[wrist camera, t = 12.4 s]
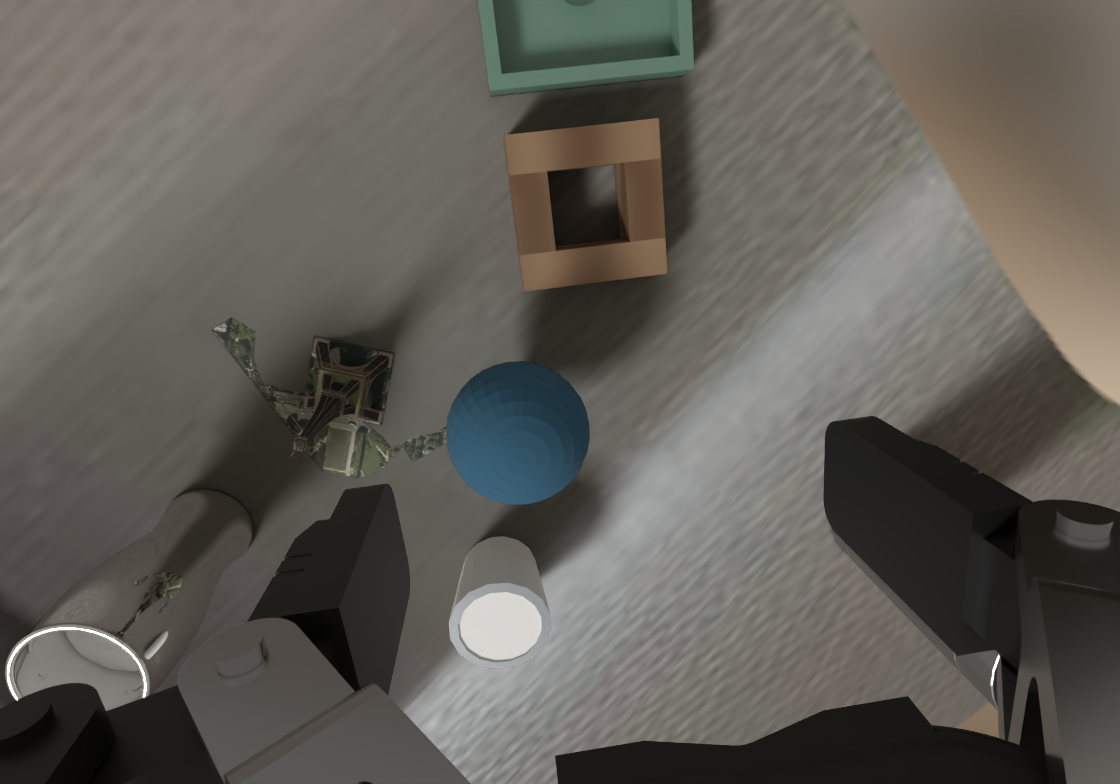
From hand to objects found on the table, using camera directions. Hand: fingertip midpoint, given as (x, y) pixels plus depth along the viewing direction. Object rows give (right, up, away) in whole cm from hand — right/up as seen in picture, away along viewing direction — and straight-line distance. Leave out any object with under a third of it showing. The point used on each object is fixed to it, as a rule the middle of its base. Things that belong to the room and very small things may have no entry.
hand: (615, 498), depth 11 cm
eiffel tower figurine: (-16, +3, +32) cm, 36 cm away
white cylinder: (-6, -12, +37) cm, 39 cm away
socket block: (0, +14, +29) cm, 33 cm away
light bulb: (-4, +2, +33) cm, 33 cm away
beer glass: (-26, -8, +34) cm, 44 cm away
